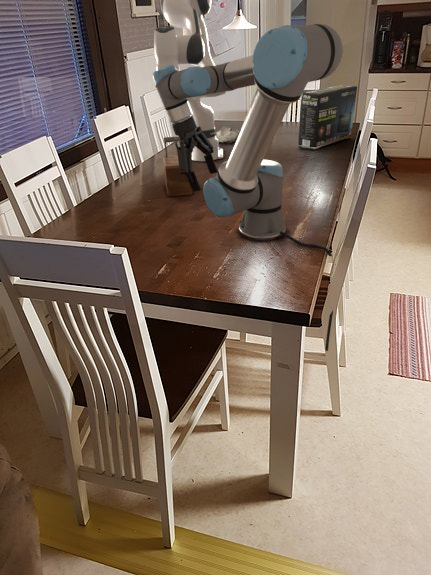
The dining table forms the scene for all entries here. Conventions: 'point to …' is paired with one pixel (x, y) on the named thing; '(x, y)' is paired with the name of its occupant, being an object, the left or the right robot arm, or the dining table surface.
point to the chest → (176, 182)
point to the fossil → (227, 135)
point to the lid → (170, 160)
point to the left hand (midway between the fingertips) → (171, 114)
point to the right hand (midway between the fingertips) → (205, 181)
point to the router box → (326, 115)
